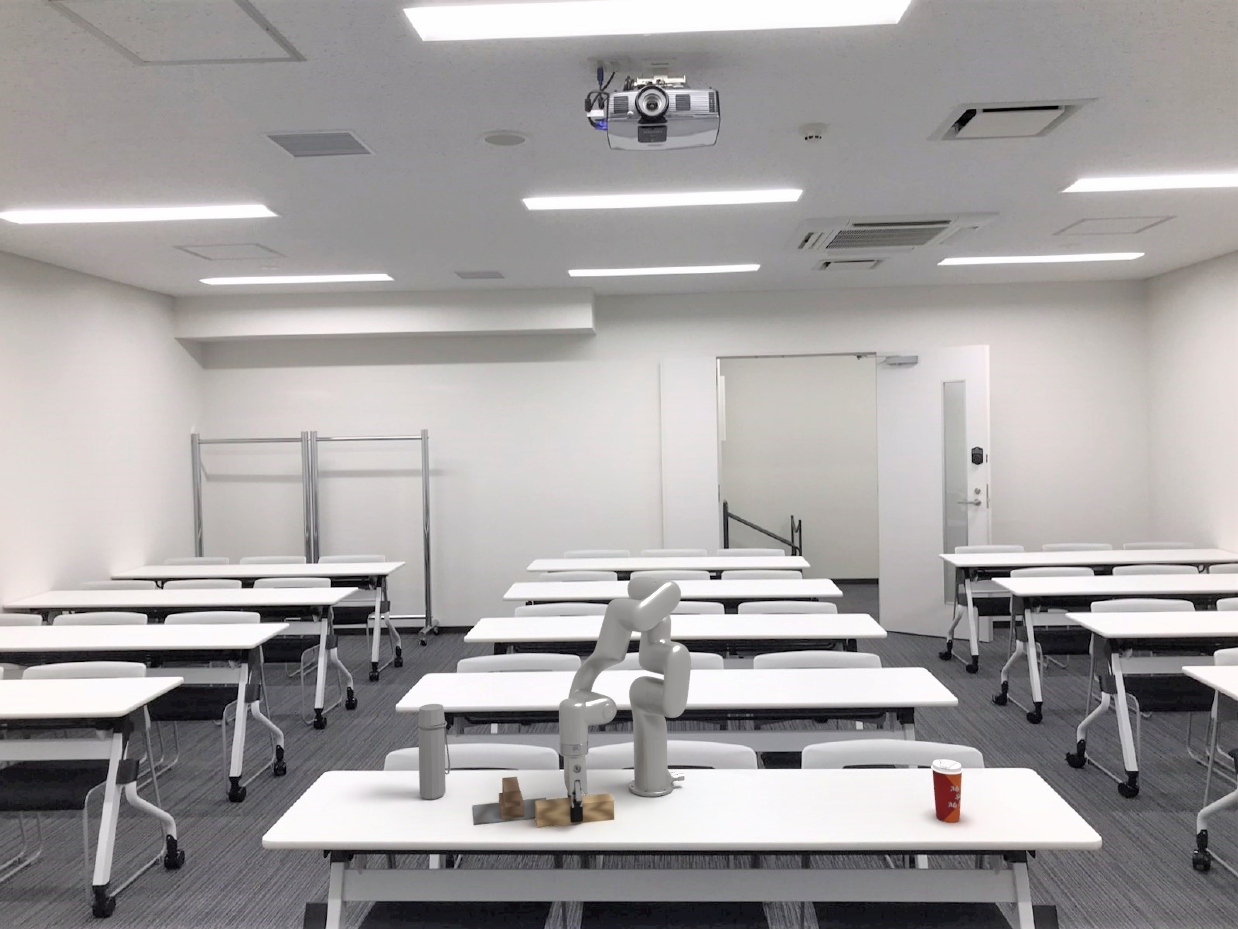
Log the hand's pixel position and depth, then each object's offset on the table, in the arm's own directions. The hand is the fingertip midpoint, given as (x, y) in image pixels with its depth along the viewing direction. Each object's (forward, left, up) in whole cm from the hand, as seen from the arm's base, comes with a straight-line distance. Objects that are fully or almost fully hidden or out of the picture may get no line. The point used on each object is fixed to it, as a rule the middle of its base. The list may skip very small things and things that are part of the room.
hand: (575, 816), depth 219 cm
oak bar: (0, 0, -1) cm, 1 cm away
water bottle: (+36, -26, -1) cm, 44 cm away
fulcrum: (+16, -9, -1) cm, 18 cm away
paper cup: (-93, +23, -1) cm, 96 cm away
